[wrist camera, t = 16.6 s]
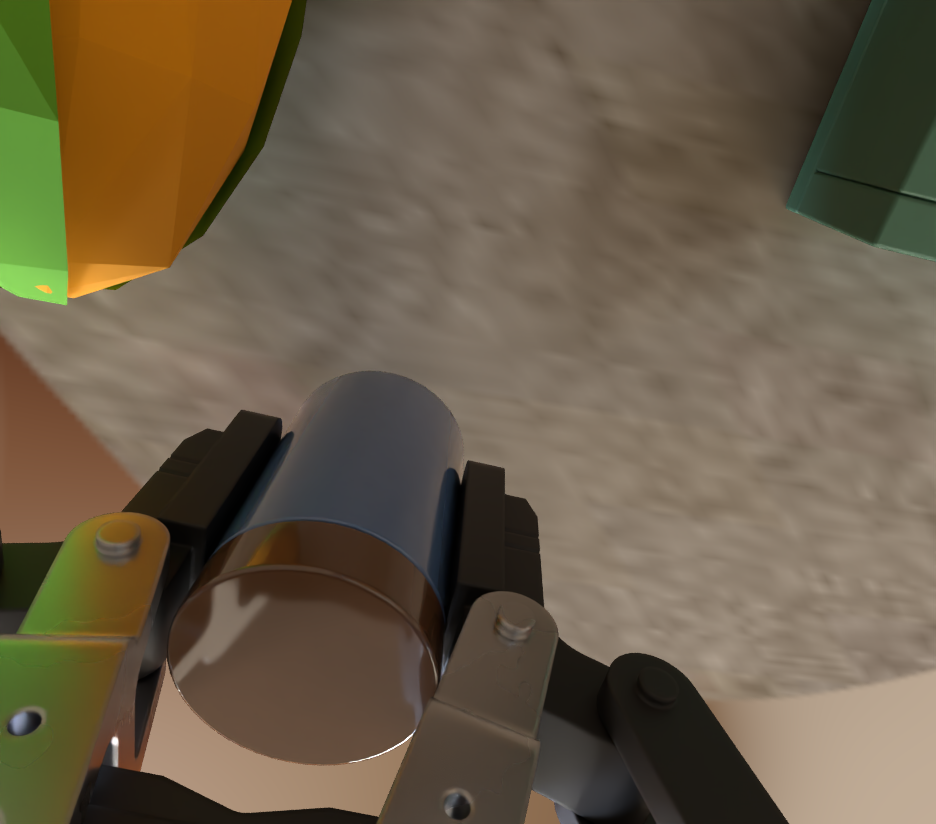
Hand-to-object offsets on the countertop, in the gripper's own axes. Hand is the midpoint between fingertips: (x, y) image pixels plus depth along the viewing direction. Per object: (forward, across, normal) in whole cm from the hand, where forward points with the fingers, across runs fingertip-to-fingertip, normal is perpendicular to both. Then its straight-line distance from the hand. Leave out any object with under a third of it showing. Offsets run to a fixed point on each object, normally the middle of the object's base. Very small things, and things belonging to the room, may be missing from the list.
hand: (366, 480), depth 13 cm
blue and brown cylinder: (+1, 0, 0) cm, 1 cm away
